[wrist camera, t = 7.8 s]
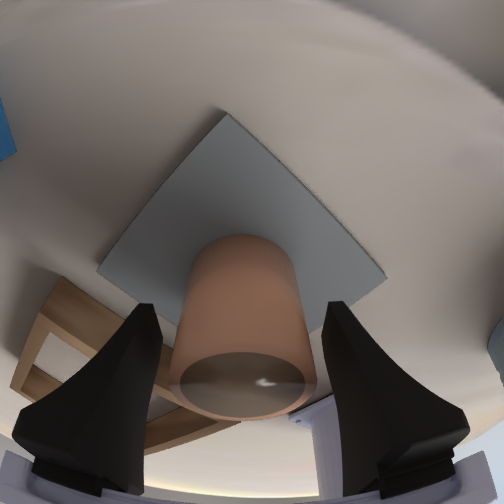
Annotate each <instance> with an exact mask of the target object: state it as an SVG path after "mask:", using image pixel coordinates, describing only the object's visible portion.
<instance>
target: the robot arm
mask: <svg viewBox="0 0 504 504" xmlns="http://www.w3.org/2000/svg"><path fill="white" fill-rule="evenodd" d="M321 338H322V346H323V353H324V359H325V363H326V367H327V371H328V375H329V379H330V383H331V387H332V390H333V394H332V395H331V396H329V397H327V398H325V399H323V400H321V401H319V402H317V403H315V404H312V405H310V406H308V407H306V408H304V409H302V410H300V411H298V412H295V413H293V414H291V415H289V421H290V422H293V423H296V424H298V425H301V426H304V427H307V428H310V429H311V430H312V438H313V446H314V454H315V462H316V470H317V479H318V488H319V497H320V501H315V502H305V503H295V504H490V503H492V502H494V501H495V500H497V498H498V497H497V493H496V489H495V486H494V482H493V479H492V475H491V472H490V469H489V466H488V462H487V459H486V456H485V454H484V451H480V452H478V453H476V454H473V455H471V456H469V457H466V458H464V459H462V460H460V461H458V462H456V463H455V464H453V462H452V459H451V458H453V457H454V451H453V448H454V447H455V446H456V445H457V444H459V443H460V442H461V441H462V440H463V439H464V438H465V437H466V436H467V435H468V434H469V432H470V427H469V424H468V421H467V418H466V416H465V414H464V412H463V410H462V409H460V408H458V407H457V406H455V405H453V404H451V403H449V402H447V401H445V400H444V399H442V398H440V397H439V396H437V395H436V394H434V393H433V392H431V391H430V390H428V389H427V388H425V387H424V386H423V385H421V384H420V383H419V382H417V381H416V380H415V379H413V378H412V377H411V376H410V375H408V374H407V373H406V372H405V371H404V370H403V369H402V368H400V367H399V366H398V365H397V364H396V363H395V362H394V361H393V360H392V359H391V358H390V357H389V356H388V355H387V354H386V353H385V352H384V351H383V349H382V348H381V347H380V346H379V345H378V344H377V343H376V342H375V341H374V339H373V338H372V337H371V336H370V335H369V333H368V332H367V331H366V330H365V328H364V327H363V326H362V325H361V323H360V322H359V321H358V320H357V318H356V317H355V316H354V314H353V313H352V312H351V310H350V309H349V308H348V306H347V305H346V304H345V302H344V301H328V306H327V311H326V315H325V320H324V325H323V330H322V334H321ZM162 341H163V336H162V332H161V329H160V326H159V323H158V319H157V316H156V312H155V309H154V305H153V303H139V304H138V305H137V306H136V307H135V309H134V310H133V311H132V312H131V313H130V315H129V316H128V317H127V318H126V320H125V321H124V322H123V323H122V325H121V326H120V327H119V328H118V330H117V331H116V332H115V333H114V334H113V336H112V337H111V338H110V339H109V340H108V341H107V343H106V344H105V345H104V346H103V347H102V348H101V349H100V350H99V351H98V352H97V354H96V355H95V356H94V357H93V358H92V359H91V360H90V361H89V362H88V363H87V364H86V365H85V366H84V367H82V368H81V369H80V370H79V371H78V372H77V373H76V374H74V375H73V376H72V377H71V378H69V379H68V380H67V381H66V382H64V383H63V384H62V385H61V386H59V387H58V388H56V389H55V390H54V391H52V392H51V393H49V394H48V395H46V396H45V397H43V398H41V399H40V400H38V401H36V402H34V403H32V404H31V405H29V406H27V407H25V408H23V409H21V411H20V413H19V416H18V418H17V421H16V424H15V426H14V429H13V432H12V438H13V439H14V440H15V442H17V443H18V444H19V445H20V446H21V447H23V448H24V449H25V450H27V451H28V452H29V453H30V454H32V455H33V456H35V460H34V463H33V462H31V461H30V460H28V459H26V458H24V457H22V456H19V455H17V454H15V453H13V452H10V451H8V450H6V451H5V455H4V458H3V461H2V465H1V468H0V501H1V502H3V503H5V504H194V503H184V502H175V501H167V500H159V499H153V498H147V497H142V496H140V495H142V494H143V493H144V443H145V430H146V420H147V412H148V406H149V402H150V397H151V393H152V389H153V385H154V382H155V378H156V374H157V370H158V366H159V362H160V357H161V349H162Z"/></svg>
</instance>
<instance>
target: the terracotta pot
mask: <svg viewBox="0 0 504 504" xmlns="http://www.w3.org/2000/svg"><path fill="white" fill-rule="evenodd" d="M168 385H169V387H170V390H171V392H172V393H173V395H174V396H175V397H176V398H177V399H178V400H179V401H180V402H181V403H182V404H184V405H185V406H187V407H188V408H190V409H192V410H194V411H196V412H198V413H201V414H203V415H206V416H210V417H213V418H218V419H224V420H232V421H253V420H262V419H268V418H272V417H276V416H279V415H282V414H285V413H287V412H290V411H292V410H294V409H296V408H297V407H299V406H300V405H302V404H303V403H304V402H306V401H307V400H308V399H309V398H310V396H311V395H312V394H313V392H314V390H315V388H316V385H317V377H316V371H315V366H314V361H313V355H312V350H311V345H310V340H309V335H308V330H307V326H306V321H305V316H304V311H303V306H302V302H301V297H300V292H299V288H298V283H297V278H296V274H295V269H294V266H293V263H292V261H291V259H290V257H289V256H288V255H287V253H286V252H285V251H284V250H283V249H282V248H281V247H279V246H278V245H277V244H275V243H273V242H271V241H270V240H267V239H265V238H262V237H258V236H254V235H231V236H226V237H223V238H220V239H217V240H215V241H213V242H211V243H210V244H208V245H207V246H205V247H204V248H203V249H202V250H201V251H200V252H199V253H198V254H197V256H196V257H195V259H194V261H193V263H192V266H191V269H190V274H189V278H188V283H187V287H186V291H185V296H184V301H183V305H182V310H181V315H180V319H179V324H178V329H177V334H176V339H175V344H174V349H173V354H172V359H171V365H170V370H169V376H168Z"/></svg>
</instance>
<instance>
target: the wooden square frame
mask: <svg viewBox="0 0 504 504" xmlns="http://www.w3.org/2000/svg"><path fill="white" fill-rule="evenodd" d="M124 321H125V320H124V319H122V318H121V317H119V316H118V315H116V314H115V313H113V312H112V311H110V310H109V309H107V308H106V307H104V306H103V305H101V304H100V303H99V302H97V301H96V300H94V299H93V298H91V297H90V296H89V295H87V294H86V293H84V292H83V291H82V290H80V289H79V288H77V287H76V286H75V285H73V284H72V283H71V282H69V281H68V280H67V279H65V278H64V277H63V276H62V277H61V279H60V280H59V282H58V283H57V285H56V286H55V288H54V289H53V291H52V292H51V294H50V295H49V297H48V298H47V300H46V302H45V303H44V305H43V306H42V308H41V310H40V311H39V313H38V315H37V318H36V320H35V322H34V324H33V327H32V329H31V331H30V334H29V336H28V339H27V341H26V343H25V346H24V348H23V351H22V354H21V356H20V359H19V361H18V364H17V367H16V370H15V372H14V375H13V378H12V381H11V384H10V388H11V389H13V390H14V391H16V392H17V393H19V394H20V395H22V396H23V397H25V398H26V399H28V400H29V401H31V402H33V403H34V402H36V401H38V400H40V399H41V398H43V397H45V396H46V395H48V394H49V393H51V392H52V391H54V390H55V389H56V388H58V387H59V386H61V385H62V383H60V382H59V381H57V380H56V379H54V378H52V377H51V376H49V375H48V374H46V373H45V372H43V371H42V370H40V369H39V368H37V367H36V366H34V365H33V362H34V360H35V358H36V356H37V354H38V353H39V351H40V349H41V347H42V345H43V343H44V341H45V339H46V337H47V335H48V334H49V332H52V333H53V334H54V335H56V336H57V337H59V338H60V339H62V340H63V341H65V342H66V343H68V344H69V345H71V346H72V347H74V348H75V349H77V350H79V351H80V352H82V353H83V354H85V355H86V356H88V357H90V358H91V359H92V358H93V357H94V356H95V355H96V354H97V352H98V351H99V350H100V349H101V348H102V347H103V346H104V345H105V344H106V343H107V341H108V340H109V339H110V338H111V337H112V336H113V334H114V333H115V332H116V331H117V330H118V328H119V327H120V326H121V325H122V323H123V322H124ZM172 354H173V349H171V348H169V347H168V346H166V345H164V344H163V343H162V349H161V357H160V362H159V366H158V370H157V374H156V378H155V382H154V385H153V389H152V392H153V393H155V394H157V395H159V396H161V397H163V398H165V399H167V400H169V401H172V402H174V403H176V404H178V405H180V406H182V407H180V408H178V409H176V410H174V411H172V412H170V413H168V414H165V415H163V416H161V417H159V418H157V419H155V420H153V421H151V422H148V423H146V430H145V443H144V456H145V455H149V454H152V453H156V452H159V451H162V450H166V449H169V448H172V447H175V446H178V445H181V444H184V443H187V442H190V441H193V440H196V439H199V438H202V437H204V436H207V435H210V434H213V433H215V432H218V431H221V430H223V429H226V428H228V427H231V426H233V425H236V424H238V423H241V421H232V420H224V419H218V418H213V417H210V416H206V415H203V414H201V413H198V412H196V411H194V410H192V409H190V408H188V407H187V406H185V405H184V404H182V403H181V402H180V401H179V400H178V399H177V398H176V397H175V396H174V395H173V393H172V392H171V390H170V387H169V385H168V376H169V370H170V365H171V359H172Z"/></svg>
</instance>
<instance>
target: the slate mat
mask: <svg viewBox="0 0 504 504" xmlns="http://www.w3.org/2000/svg"><path fill="white" fill-rule="evenodd" d="M231 235H254V236H258V237H262V238H265V239H267V240H270V241H271V242H273V243H275V244H277V245H278V246H279V247H281V248H282V249H283V250H284V251H285V252H286V253H287V255H288V256H289V257H290V259H291V261H292V263H293V266H294V269H295V274H296V278H297V283H298V288H299V292H300V297H301V302H302V306H303V311H304V316H305V321H306V326H307V330H308V334H309V333H311V332H312V331H314V330H315V329H317V328H318V327H320V326H321V325H323V324H324V320H325V315H326V311H327V306H328V301H344V302H345V304H346V305H347V306H348V307H349V306H351V305H352V304H353V303H355V302H356V301H358V300H359V299H360V298H362V297H363V296H365V295H366V294H367V293H369V292H370V291H372V290H373V289H374V288H376V287H377V286H378V285H380V284H381V283H382V282H384V281H385V280H386V279H387V277H386V275H385V273H384V272H383V271H382V270H381V268H380V267H379V266H378V265H377V264H376V263H375V261H374V260H373V259H372V258H371V257H370V256H369V255H368V253H367V252H366V251H365V250H364V249H363V248H362V247H361V245H360V244H359V243H358V242H357V241H356V240H355V239H354V238H353V236H352V235H351V234H350V233H349V232H348V231H347V230H346V229H345V228H344V227H343V226H342V224H341V223H340V222H339V221H338V220H337V219H336V218H335V217H334V216H333V215H332V214H331V213H330V212H329V210H328V209H327V208H326V207H325V206H324V205H323V204H322V203H321V202H320V201H319V200H318V199H317V198H316V197H315V196H314V195H313V194H312V193H311V192H310V191H309V190H308V189H307V188H306V187H305V186H304V185H303V184H302V183H301V182H300V181H299V180H298V179H297V178H296V177H295V176H294V175H293V174H292V173H291V172H290V171H289V170H288V169H287V168H286V167H285V166H284V165H283V164H282V163H281V162H280V161H279V160H278V159H277V158H276V157H275V156H274V155H273V154H272V153H271V152H270V151H269V150H268V149H267V148H266V147H265V146H264V145H263V144H261V143H260V142H259V141H258V140H257V139H256V138H255V137H254V136H253V135H252V134H251V133H250V132H249V131H247V130H246V129H245V128H244V127H243V126H242V125H241V124H240V123H239V122H238V121H236V120H235V119H234V118H233V117H232V116H231V115H230V114H229V113H227V114H226V115H225V116H224V117H223V118H222V119H221V120H220V121H219V122H218V123H217V124H216V125H215V126H214V127H213V128H212V129H211V131H210V132H209V133H208V134H207V135H206V136H205V137H204V138H203V139H202V140H201V141H200V142H199V143H198V144H197V146H196V147H195V148H194V149H193V150H192V151H191V152H190V153H189V154H188V155H187V157H186V158H185V159H184V160H183V161H182V162H181V163H180V164H179V166H178V167H177V168H176V169H175V170H174V171H173V172H172V174H171V175H170V176H169V177H168V178H167V179H166V181H165V182H164V183H163V184H162V185H161V187H160V188H159V189H158V190H157V191H156V193H155V194H154V195H153V196H152V197H151V199H150V200H149V201H148V202H147V204H146V205H145V206H144V207H143V209H142V210H141V211H140V212H139V214H138V215H137V216H136V218H135V219H134V220H133V221H132V223H131V224H130V225H129V227H128V228H127V229H126V230H125V232H124V233H123V234H122V236H121V237H120V238H119V240H118V241H117V242H116V244H115V245H114V247H113V248H112V249H111V251H110V252H109V253H108V255H107V256H106V258H105V259H104V260H103V262H102V263H101V265H100V266H99V268H98V269H97V271H96V272H97V273H99V274H100V275H101V276H103V277H104V278H105V279H107V280H108V281H110V282H111V283H112V284H114V285H115V286H117V287H118V288H120V289H121V290H122V291H124V292H125V293H127V294H128V295H130V296H131V297H133V298H134V299H135V300H137V301H138V302H140V303H153V305H154V309H155V312H156V313H157V314H158V315H160V316H161V317H163V318H164V319H166V320H167V321H169V322H171V323H172V324H174V325H175V326H177V327H178V324H179V319H180V315H181V310H182V305H183V301H184V296H185V291H186V287H187V283H188V278H189V274H190V269H191V266H192V263H193V261H194V259H195V257H196V256H197V254H198V253H199V252H200V251H201V250H202V249H203V248H204V247H205V246H207V245H208V244H210V243H211V242H213V241H215V240H217V239H220V238H223V237H226V236H231Z"/></svg>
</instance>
